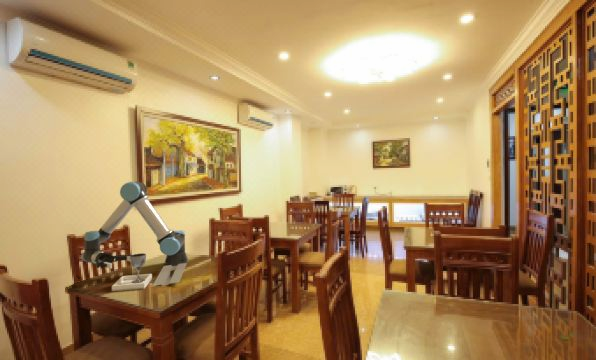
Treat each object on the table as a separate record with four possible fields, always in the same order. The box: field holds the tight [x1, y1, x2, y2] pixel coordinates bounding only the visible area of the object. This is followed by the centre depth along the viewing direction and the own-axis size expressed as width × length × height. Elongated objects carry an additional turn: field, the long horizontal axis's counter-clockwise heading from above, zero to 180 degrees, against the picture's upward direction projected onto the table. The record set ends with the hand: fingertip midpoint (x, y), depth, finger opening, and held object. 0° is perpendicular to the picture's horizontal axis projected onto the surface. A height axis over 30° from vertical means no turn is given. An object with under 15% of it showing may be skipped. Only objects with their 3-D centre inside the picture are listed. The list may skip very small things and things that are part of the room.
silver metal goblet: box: [130, 252, 147, 283], centre depth 172 cm, size 8×8×15 cm
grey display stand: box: [152, 263, 188, 287], centre depth 174 cm, size 16×9×15 cm
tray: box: [111, 273, 153, 292], centre depth 168 cm, size 16×16×3 cm
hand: (123, 262), depth 172 cm, fingers open, 13 cm apart
